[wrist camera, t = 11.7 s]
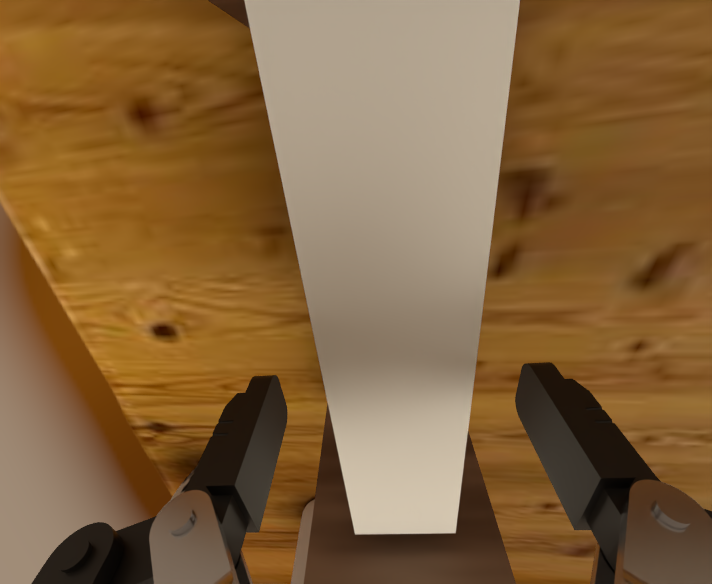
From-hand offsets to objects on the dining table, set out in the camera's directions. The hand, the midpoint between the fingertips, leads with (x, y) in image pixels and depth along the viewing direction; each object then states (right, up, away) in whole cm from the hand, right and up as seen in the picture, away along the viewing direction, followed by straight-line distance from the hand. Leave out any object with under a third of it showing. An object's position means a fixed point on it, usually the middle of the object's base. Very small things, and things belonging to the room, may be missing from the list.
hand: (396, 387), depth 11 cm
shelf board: (0, +2, +3) cm, 3 cm away
